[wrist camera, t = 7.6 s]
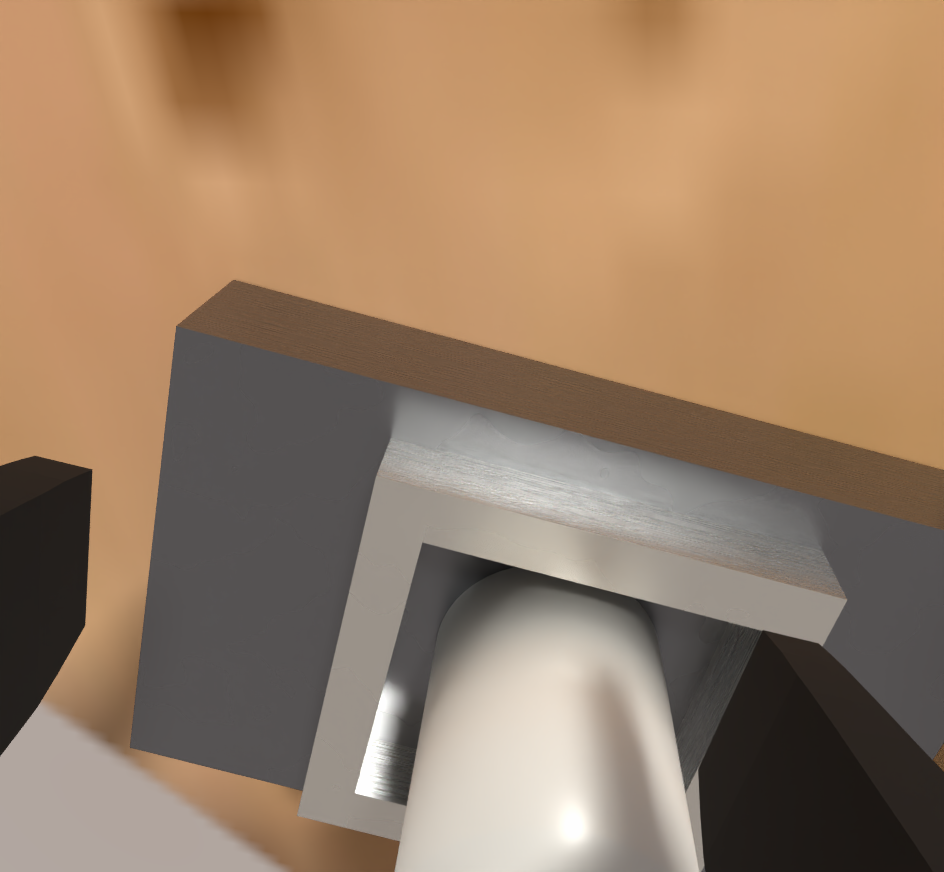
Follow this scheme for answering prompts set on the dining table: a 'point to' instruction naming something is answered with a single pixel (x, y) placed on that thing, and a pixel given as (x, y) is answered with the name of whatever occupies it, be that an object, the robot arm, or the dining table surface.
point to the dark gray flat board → (486, 543)
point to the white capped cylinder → (546, 738)
